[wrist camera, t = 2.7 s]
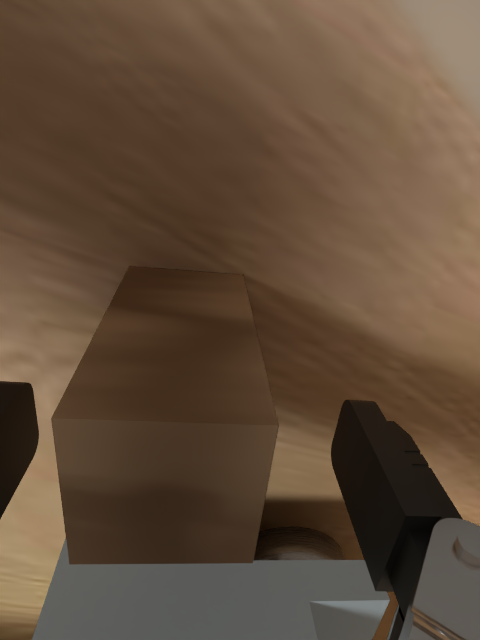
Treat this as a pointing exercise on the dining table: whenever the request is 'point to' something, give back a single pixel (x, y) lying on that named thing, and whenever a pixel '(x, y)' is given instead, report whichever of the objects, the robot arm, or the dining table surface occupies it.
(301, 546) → the steel puck
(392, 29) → the dining table surface
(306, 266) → the dining table surface
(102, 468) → the brown block-headed bar
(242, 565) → the cabinet
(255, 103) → the dining table surface
